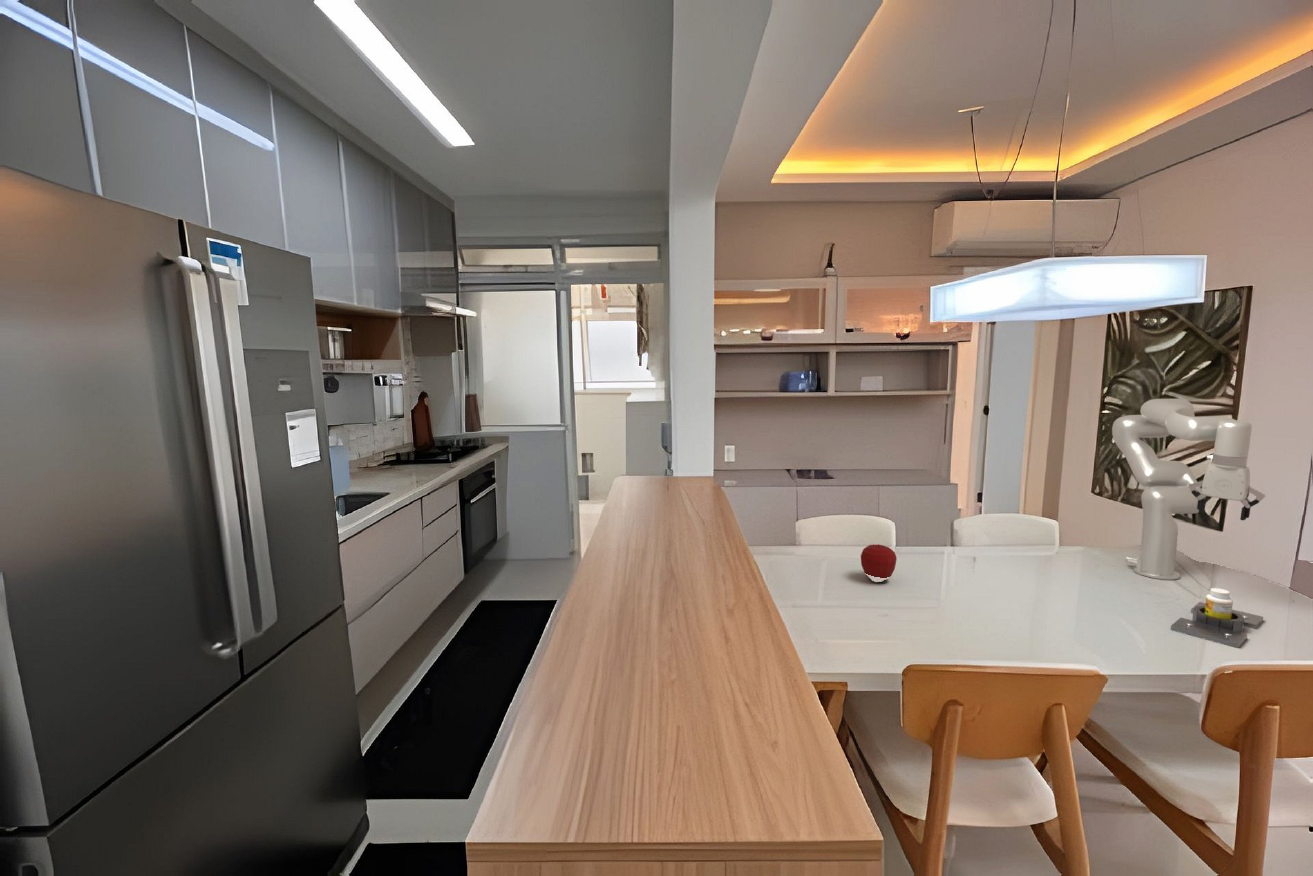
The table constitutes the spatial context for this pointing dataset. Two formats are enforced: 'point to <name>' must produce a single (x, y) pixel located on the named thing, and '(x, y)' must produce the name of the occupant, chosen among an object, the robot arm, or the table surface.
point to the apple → (878, 561)
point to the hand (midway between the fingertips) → (1221, 515)
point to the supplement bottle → (1219, 604)
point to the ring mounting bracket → (1218, 626)
